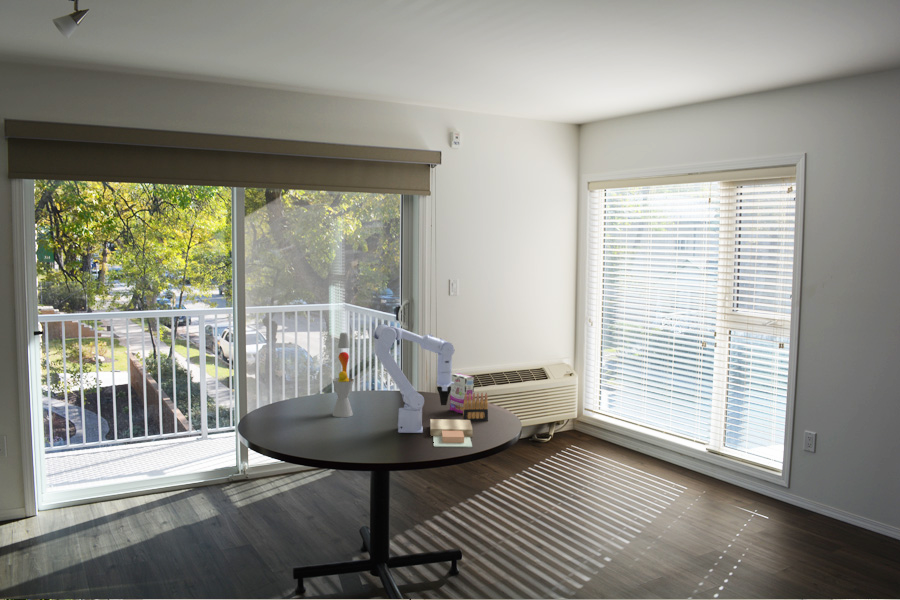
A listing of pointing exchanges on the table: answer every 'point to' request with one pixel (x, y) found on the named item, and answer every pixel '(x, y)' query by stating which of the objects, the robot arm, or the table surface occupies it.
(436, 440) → the mat
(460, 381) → the candy bar box
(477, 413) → the ammunition clip
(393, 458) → the table surface
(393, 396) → the table surface
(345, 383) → the lava lamp
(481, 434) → the table surface
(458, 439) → the peach flat block
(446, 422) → the riser
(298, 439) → the table surface
